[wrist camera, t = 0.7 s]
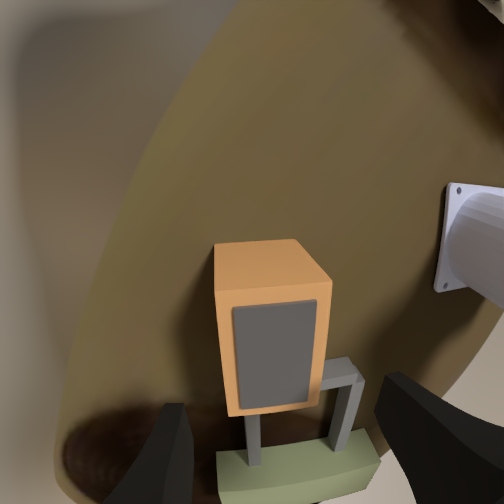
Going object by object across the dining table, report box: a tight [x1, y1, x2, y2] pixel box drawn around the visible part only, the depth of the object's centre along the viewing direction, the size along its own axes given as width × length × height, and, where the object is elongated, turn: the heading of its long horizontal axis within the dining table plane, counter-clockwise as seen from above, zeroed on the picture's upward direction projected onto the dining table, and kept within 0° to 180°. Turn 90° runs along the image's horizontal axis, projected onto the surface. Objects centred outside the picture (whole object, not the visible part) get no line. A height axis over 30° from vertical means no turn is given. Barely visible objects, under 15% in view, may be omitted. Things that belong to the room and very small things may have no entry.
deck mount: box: [216, 356, 381, 504], centre depth 20 cm, size 14×16×4 cm
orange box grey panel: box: [214, 239, 332, 417], centre depth 15 cm, size 4×7×6 cm, turn 2°
